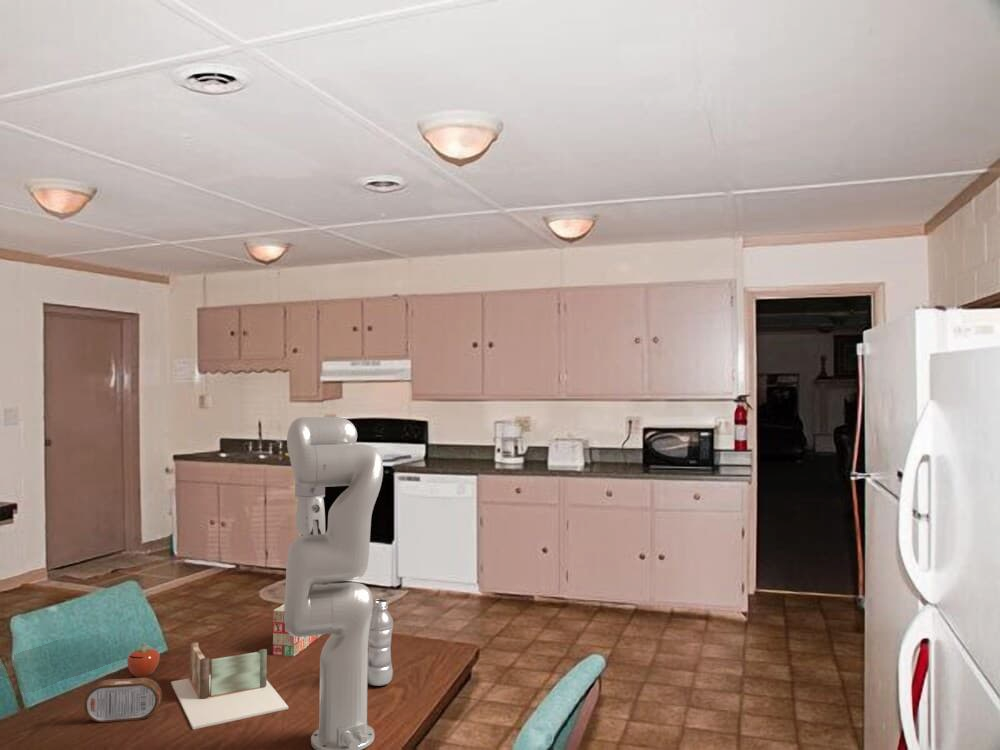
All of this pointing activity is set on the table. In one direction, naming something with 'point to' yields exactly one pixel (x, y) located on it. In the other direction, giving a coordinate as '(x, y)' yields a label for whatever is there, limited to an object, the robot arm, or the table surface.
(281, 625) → the stack of blocks
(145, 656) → the tomato
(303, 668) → the table surface
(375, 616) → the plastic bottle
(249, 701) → the card
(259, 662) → the swing panel
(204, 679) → the fixed fence
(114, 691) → the tin
